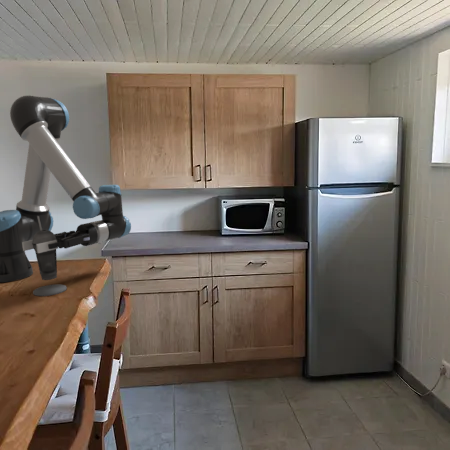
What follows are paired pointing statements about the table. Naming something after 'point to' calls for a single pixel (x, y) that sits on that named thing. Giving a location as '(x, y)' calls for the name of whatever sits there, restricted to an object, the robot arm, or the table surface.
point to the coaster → (49, 290)
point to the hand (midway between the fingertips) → (30, 247)
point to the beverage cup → (45, 254)
